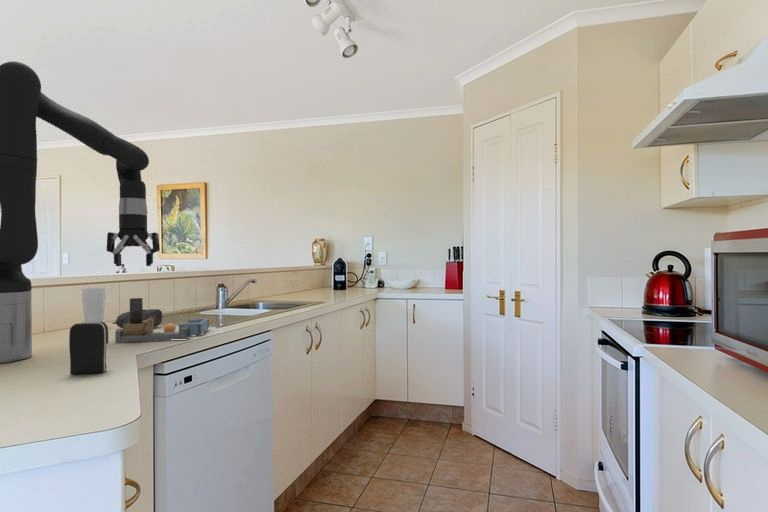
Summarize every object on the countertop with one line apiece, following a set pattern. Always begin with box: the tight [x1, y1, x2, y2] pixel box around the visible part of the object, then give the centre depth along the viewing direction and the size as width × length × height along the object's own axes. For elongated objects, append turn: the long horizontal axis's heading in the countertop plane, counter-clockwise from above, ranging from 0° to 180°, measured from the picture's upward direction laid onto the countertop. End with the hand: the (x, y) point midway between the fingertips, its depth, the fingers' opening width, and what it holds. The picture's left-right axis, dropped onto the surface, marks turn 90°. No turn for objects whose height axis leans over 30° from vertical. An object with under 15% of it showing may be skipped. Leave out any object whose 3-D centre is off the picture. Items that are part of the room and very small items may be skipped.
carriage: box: [122, 297, 154, 335], centre depth 136 cm, size 16×5×13 cm, turn 9°
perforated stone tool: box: [115, 308, 163, 329], centre depth 153 cm, size 15×5×7 cm, turn 98°
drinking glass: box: [81, 286, 106, 322], centre depth 151 cm, size 7×7×15 cm
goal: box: [178, 318, 210, 336], centre depth 143 cm, size 11×7×4 cm, turn 9°
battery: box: [68, 321, 109, 375], centre depth 96 cm, size 7×4×11 cm, turn 102°
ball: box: [163, 322, 176, 332], centre depth 142 cm, size 4×4×4 cm
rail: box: [114, 327, 191, 344], centre depth 132 cm, size 4×20×4 cm, turn 99°
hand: (133, 266), depth 132 cm, fingers open, 8 cm apart
